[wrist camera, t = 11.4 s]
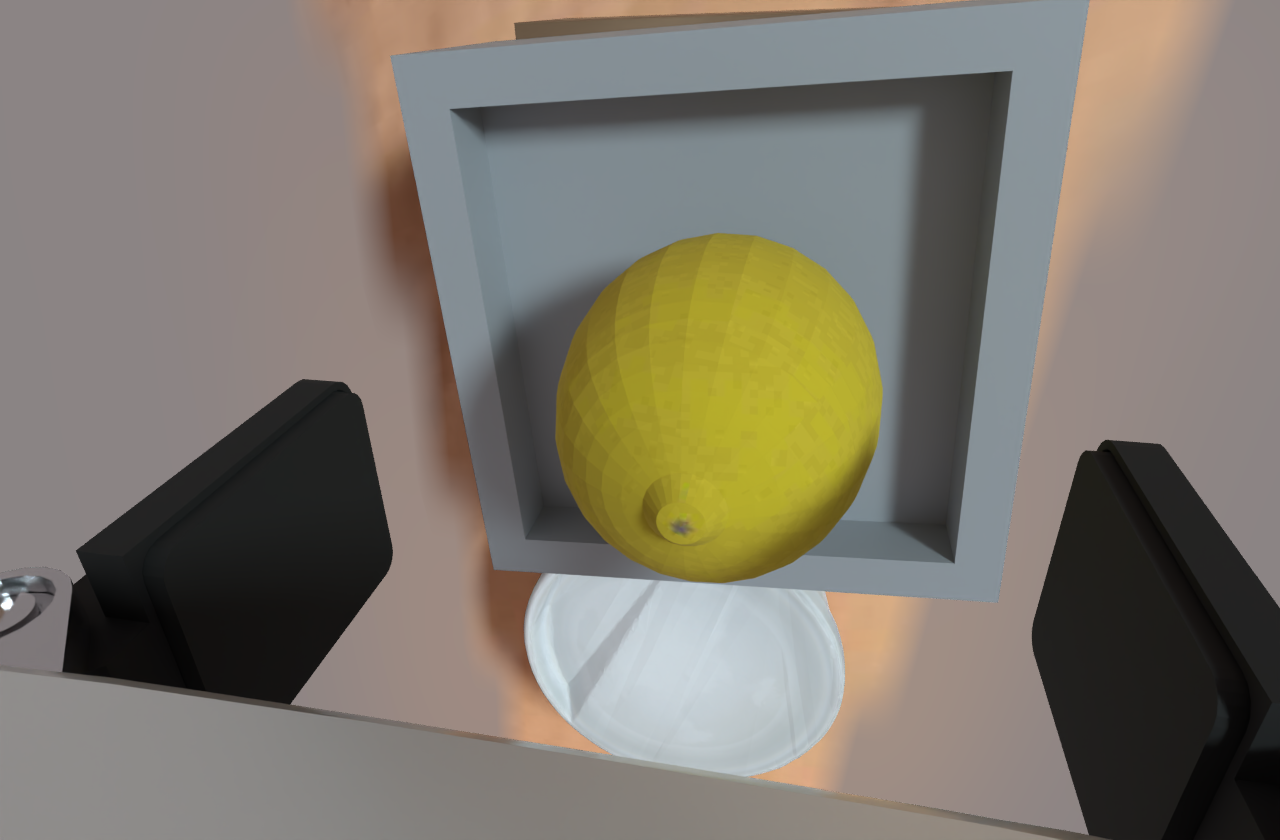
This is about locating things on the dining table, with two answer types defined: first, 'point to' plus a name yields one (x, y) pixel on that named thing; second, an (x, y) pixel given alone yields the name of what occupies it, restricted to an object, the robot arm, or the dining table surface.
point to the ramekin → (687, 668)
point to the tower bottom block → (645, 22)
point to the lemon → (718, 408)
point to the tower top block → (775, 210)
